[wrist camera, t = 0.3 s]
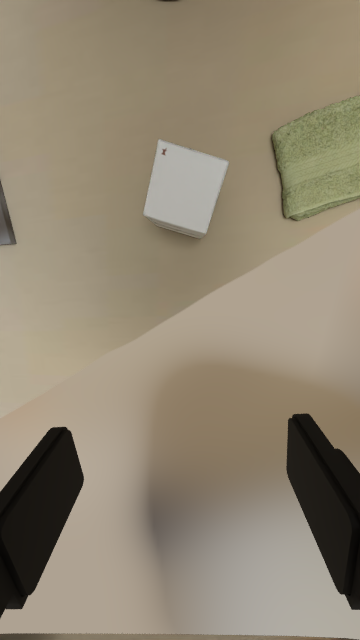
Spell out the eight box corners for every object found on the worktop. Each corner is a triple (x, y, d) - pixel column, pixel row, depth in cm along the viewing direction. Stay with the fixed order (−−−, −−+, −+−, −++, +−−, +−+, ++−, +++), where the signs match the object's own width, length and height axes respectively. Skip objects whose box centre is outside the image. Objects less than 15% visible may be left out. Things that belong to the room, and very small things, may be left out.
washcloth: (404, 187, 34) (426, 180, 31) (282, 225, 36) (291, 223, 33) (399, 80, 31) (423, 61, 27) (265, 130, 33) (273, 117, 30)
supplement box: (156, 227, 36) (139, 214, 24) (169, 175, 34) (157, 134, 22) (201, 241, 37) (206, 236, 25) (216, 190, 35) (230, 158, 23)
